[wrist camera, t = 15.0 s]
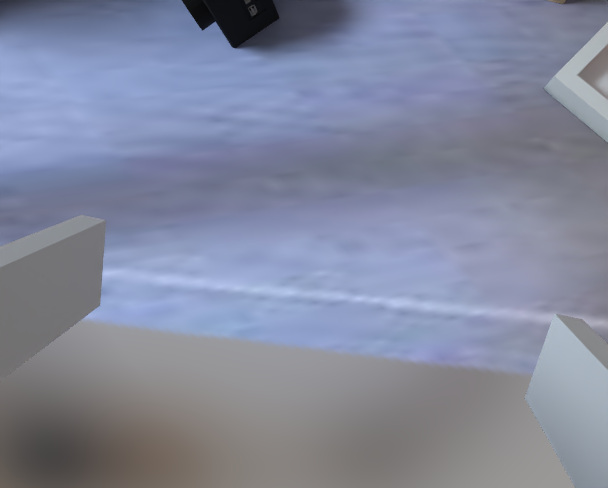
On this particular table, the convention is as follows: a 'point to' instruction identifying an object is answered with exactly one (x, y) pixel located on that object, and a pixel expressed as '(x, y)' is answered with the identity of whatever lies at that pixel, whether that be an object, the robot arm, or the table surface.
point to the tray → (586, 84)
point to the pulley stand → (558, 1)
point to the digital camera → (234, 16)
